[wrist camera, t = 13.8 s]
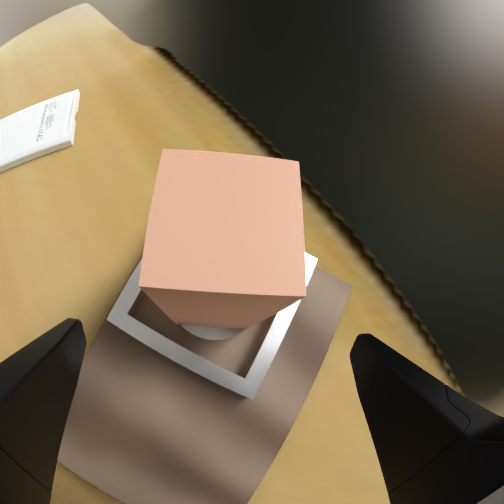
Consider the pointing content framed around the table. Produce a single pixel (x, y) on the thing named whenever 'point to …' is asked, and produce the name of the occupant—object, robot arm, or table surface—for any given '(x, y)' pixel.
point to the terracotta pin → (224, 238)
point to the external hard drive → (38, 130)
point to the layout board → (194, 397)
